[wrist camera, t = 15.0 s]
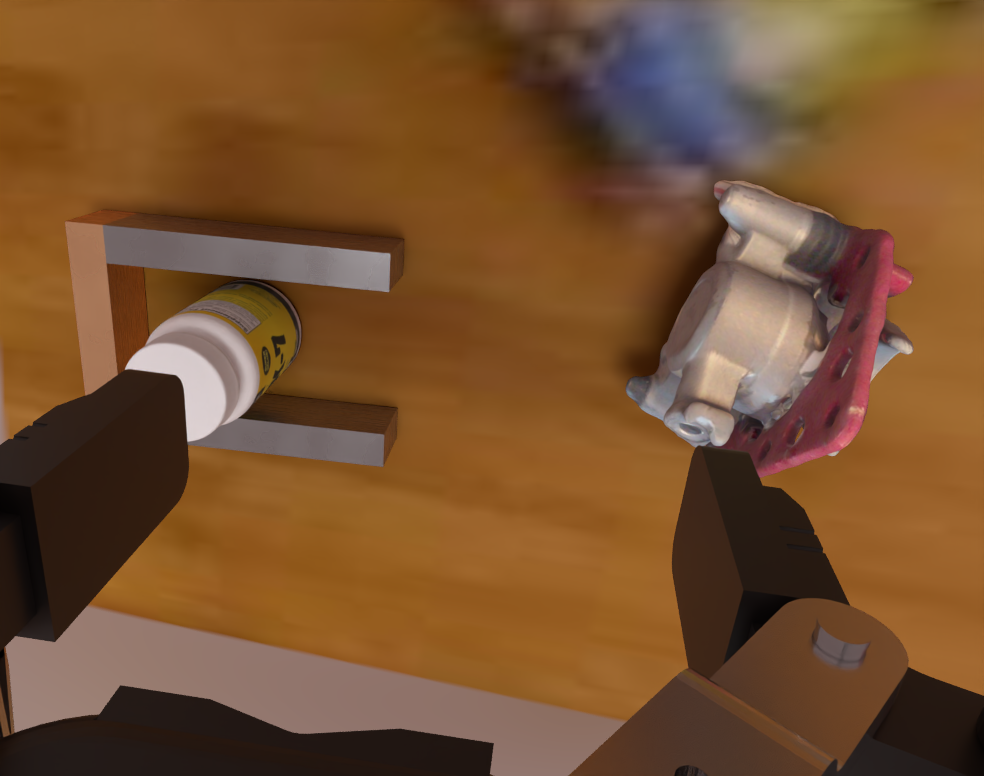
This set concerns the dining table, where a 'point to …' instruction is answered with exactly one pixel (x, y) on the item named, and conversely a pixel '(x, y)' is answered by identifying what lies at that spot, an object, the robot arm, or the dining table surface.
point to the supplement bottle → (224, 351)
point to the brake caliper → (779, 333)
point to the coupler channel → (242, 253)
